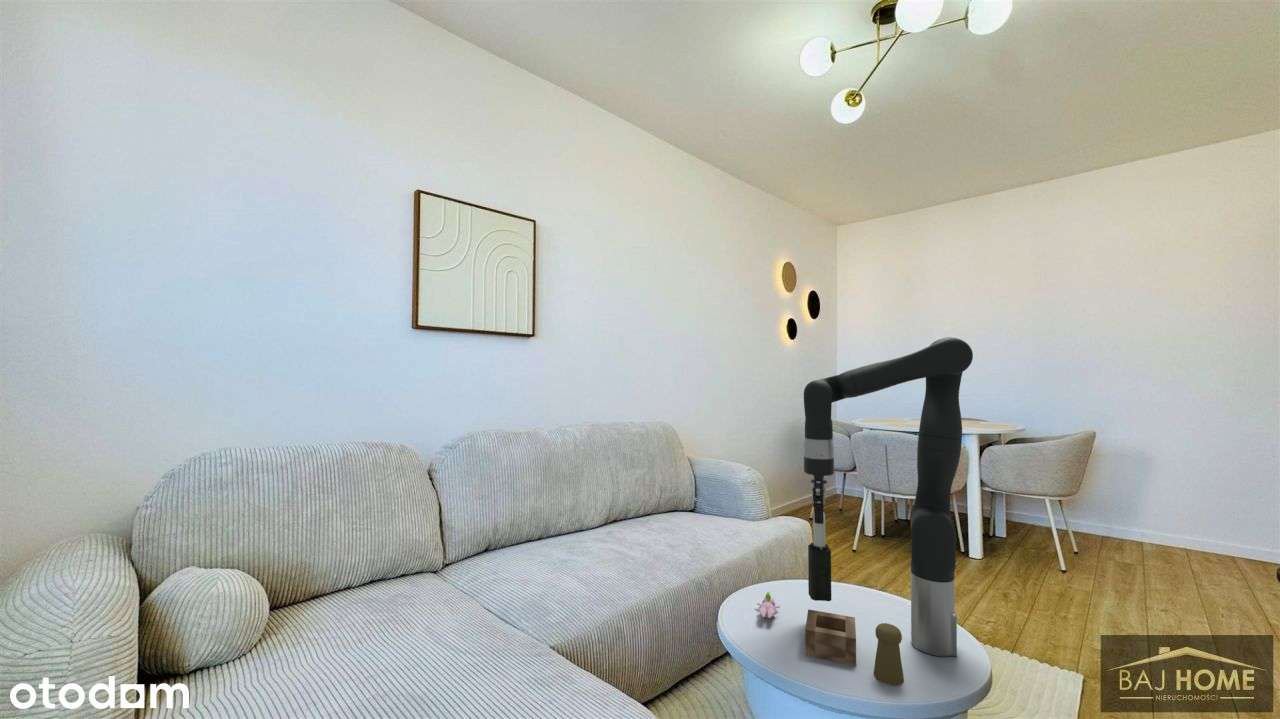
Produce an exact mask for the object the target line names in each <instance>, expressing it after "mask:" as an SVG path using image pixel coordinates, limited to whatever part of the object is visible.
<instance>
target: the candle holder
mask: <svg viewBox="0 0 1280 719" xmlns="http://www.w3.org/2000/svg"><path fill="white" fill-rule="evenodd" d="M806 615H807V616H806V621H805V627H804V628H805V629H804V638H805V639H804V641H805V642H804V653H805V654H804V655H805V657H811V658H818V659H820V660H821V659H823V660H827V661H832V662H835V663H836V662H837V663H842V664H846V665H851V666H854V667H855V666H857V632H856V617H855V616H848V615H843V614H842V615H841V614H838V613H837V614H836V613H833V612H832V613H831V612H825V611H819V610H815V609H807V614H806Z"/></svg>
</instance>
